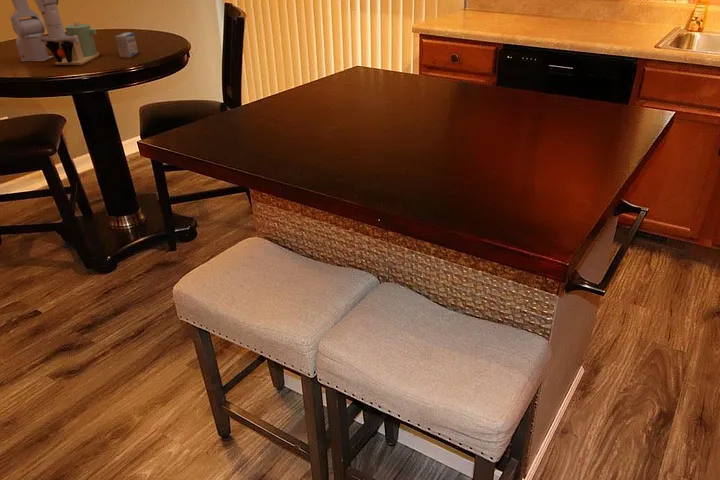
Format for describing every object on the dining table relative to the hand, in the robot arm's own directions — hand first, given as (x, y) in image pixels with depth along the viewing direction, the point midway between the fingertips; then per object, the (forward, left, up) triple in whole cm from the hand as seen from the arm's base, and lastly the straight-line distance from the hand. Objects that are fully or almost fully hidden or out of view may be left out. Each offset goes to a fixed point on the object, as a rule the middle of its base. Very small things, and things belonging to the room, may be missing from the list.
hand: (65, 62), depth 221 cm
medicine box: (+17, +18, -2) cm, 25 cm away
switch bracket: (0, +7, -2) cm, 8 cm away
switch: (0, +4, +3) cm, 5 cm away
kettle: (+1, +16, -2) cm, 16 cm away
